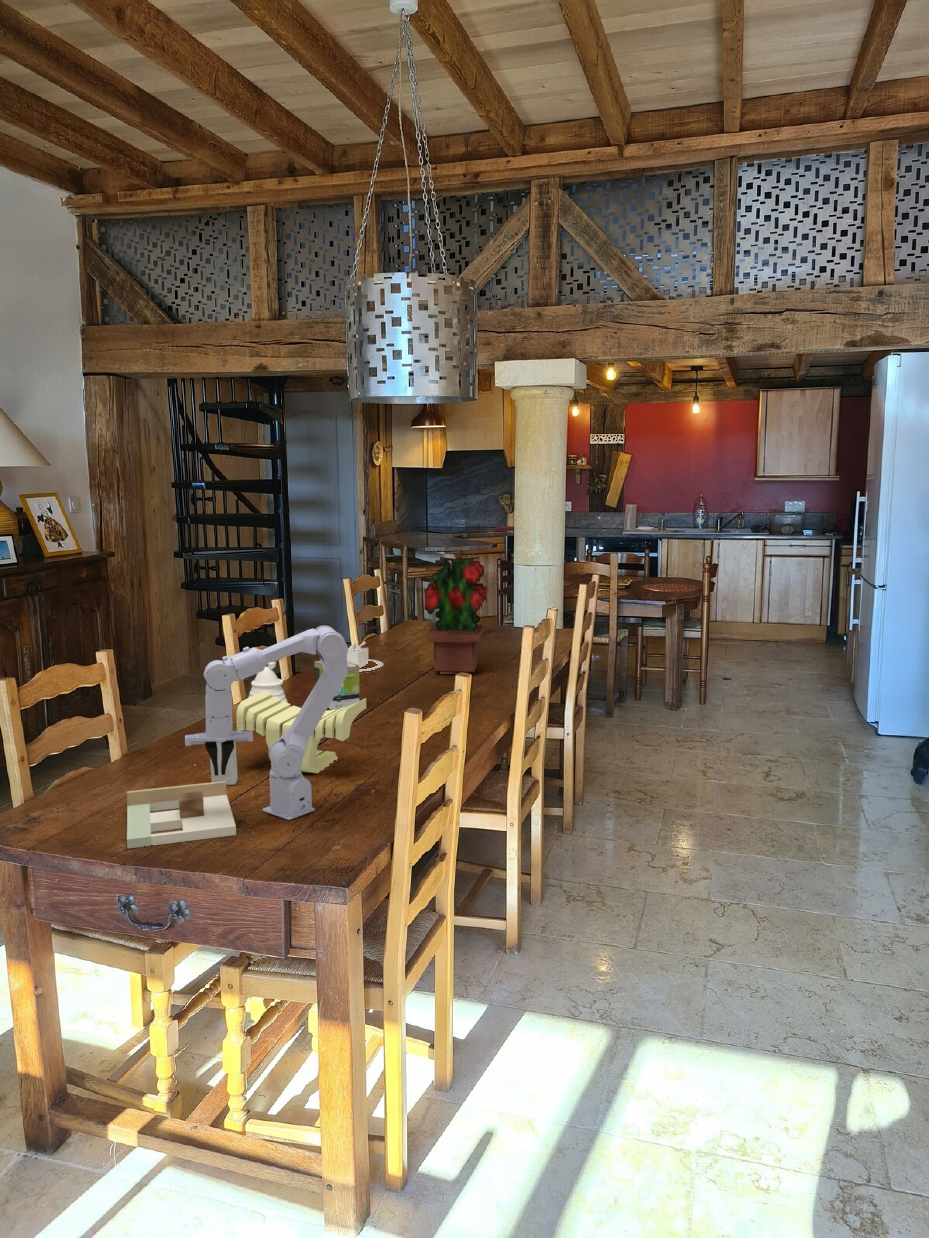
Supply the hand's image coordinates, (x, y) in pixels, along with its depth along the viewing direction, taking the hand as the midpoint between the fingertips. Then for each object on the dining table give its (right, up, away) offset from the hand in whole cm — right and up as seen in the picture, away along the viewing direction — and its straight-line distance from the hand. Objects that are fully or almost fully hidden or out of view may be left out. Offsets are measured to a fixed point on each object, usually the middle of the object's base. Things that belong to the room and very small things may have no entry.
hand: (219, 773), depth 203 cm
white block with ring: (+9, +15, +166) cm, 167 cm away
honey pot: (-8, +3, +88) cm, 88 cm away
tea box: (+12, +5, +103) cm, 104 cm away
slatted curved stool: (+12, -5, +39) cm, 41 cm away
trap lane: (-8, -11, -1) cm, 14 cm away
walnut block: (-6, -9, -1) cm, 11 cm away
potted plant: (+52, +14, +157) cm, 166 cm away
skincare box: (-6, -7, +25) cm, 27 cm away
